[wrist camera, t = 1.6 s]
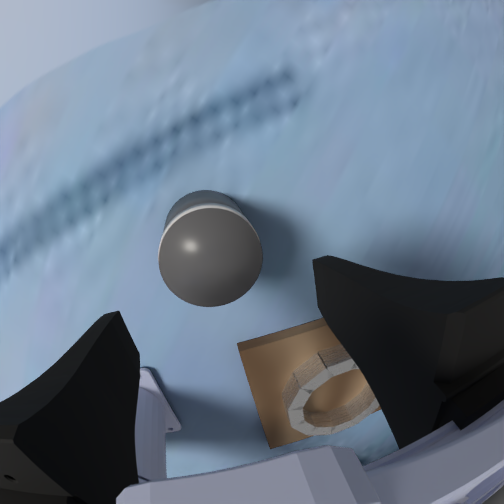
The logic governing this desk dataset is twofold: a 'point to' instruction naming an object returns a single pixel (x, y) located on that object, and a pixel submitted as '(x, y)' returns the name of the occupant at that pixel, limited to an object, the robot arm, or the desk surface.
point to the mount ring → (313, 377)
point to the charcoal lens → (209, 250)
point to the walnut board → (280, 369)
